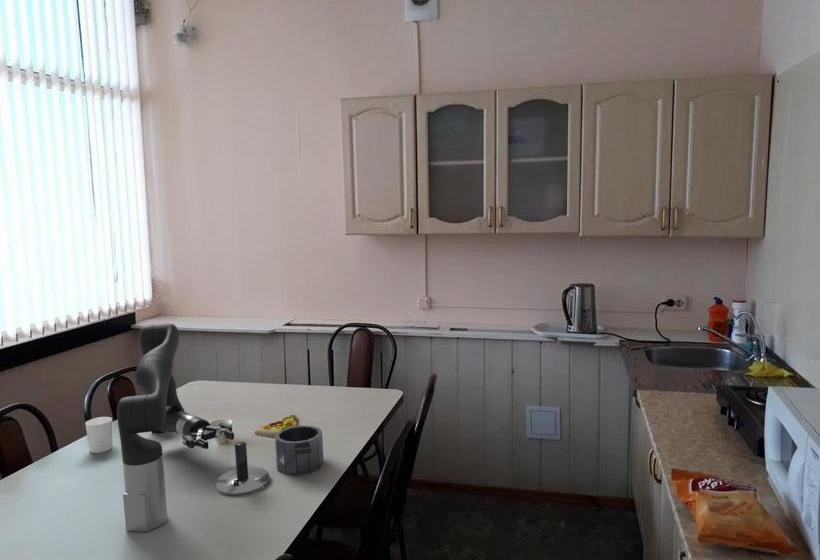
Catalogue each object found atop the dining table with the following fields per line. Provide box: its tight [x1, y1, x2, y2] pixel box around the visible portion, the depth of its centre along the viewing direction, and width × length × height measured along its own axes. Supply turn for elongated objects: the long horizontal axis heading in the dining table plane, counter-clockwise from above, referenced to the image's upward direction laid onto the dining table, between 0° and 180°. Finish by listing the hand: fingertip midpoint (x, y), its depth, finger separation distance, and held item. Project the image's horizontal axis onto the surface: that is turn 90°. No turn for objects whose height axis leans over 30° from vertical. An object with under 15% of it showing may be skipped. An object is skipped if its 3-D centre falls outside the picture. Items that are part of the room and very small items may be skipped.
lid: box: [215, 441, 271, 497], centre depth 170 cm, size 15×15×12 cm
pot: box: [274, 424, 325, 476], centre depth 181 cm, size 20×14×10 cm
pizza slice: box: [254, 414, 298, 438], centre depth 215 cm, size 16×21×3 cm
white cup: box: [85, 416, 113, 454], centre depth 197 cm, size 8×8×10 cm
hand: (220, 441), depth 177 cm, fingers open, 8 cm apart
